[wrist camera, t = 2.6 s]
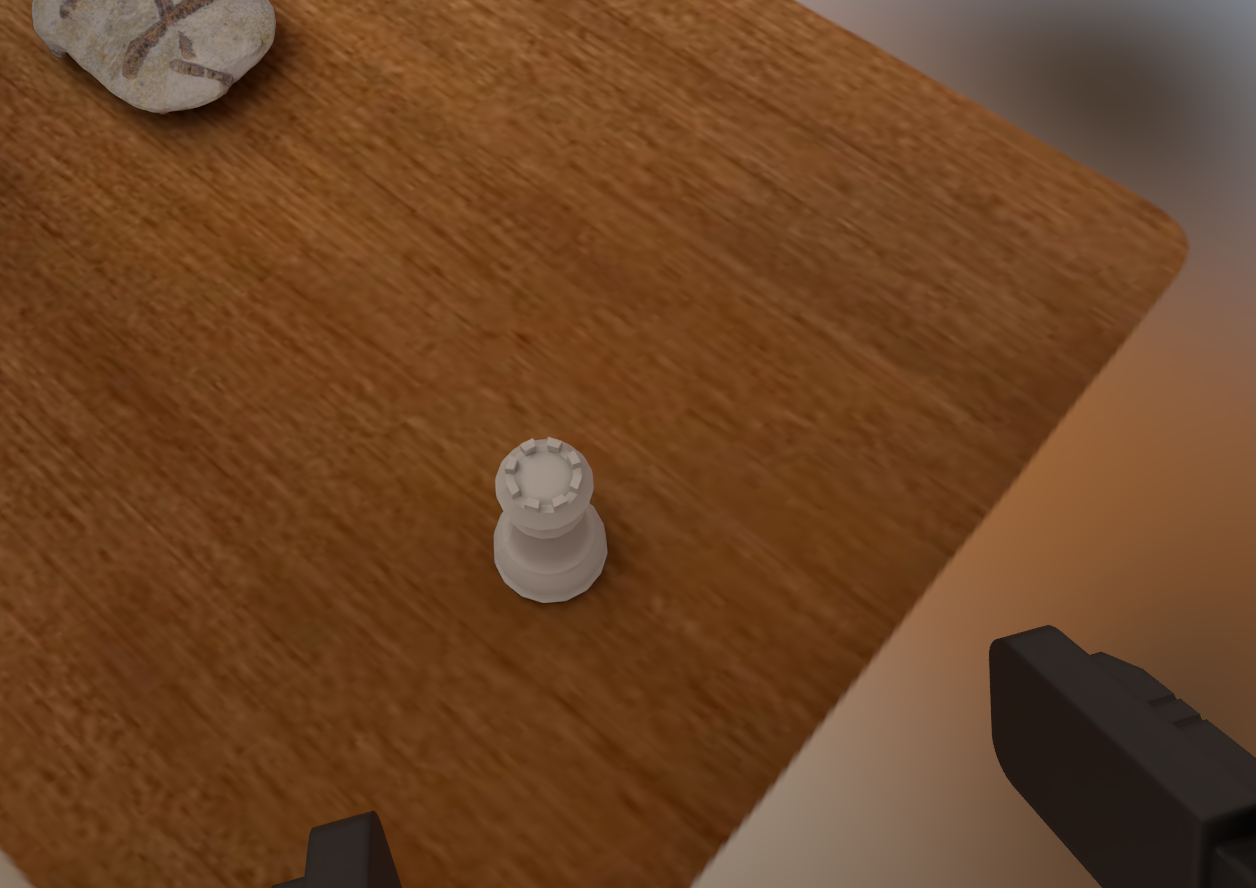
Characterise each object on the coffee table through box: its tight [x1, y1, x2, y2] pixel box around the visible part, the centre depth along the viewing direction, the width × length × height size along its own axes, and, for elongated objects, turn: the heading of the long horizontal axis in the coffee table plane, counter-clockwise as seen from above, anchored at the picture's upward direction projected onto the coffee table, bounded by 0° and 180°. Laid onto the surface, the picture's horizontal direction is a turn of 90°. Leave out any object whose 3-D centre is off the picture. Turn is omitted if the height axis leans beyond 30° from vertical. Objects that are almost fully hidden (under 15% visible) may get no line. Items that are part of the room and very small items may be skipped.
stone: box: [32, 0, 276, 114], centre depth 48 cm, size 12×9×3 cm
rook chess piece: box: [494, 437, 608, 603], centre depth 36 cm, size 4×4×8 cm
